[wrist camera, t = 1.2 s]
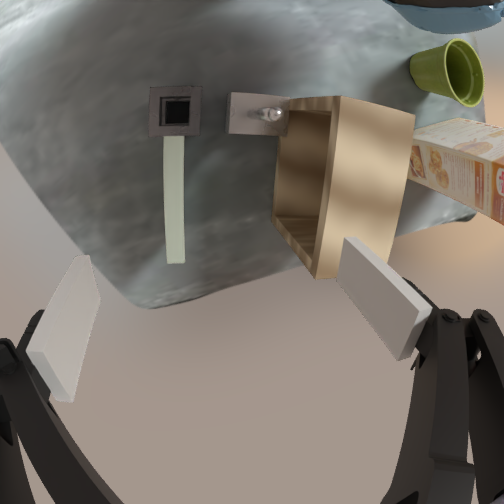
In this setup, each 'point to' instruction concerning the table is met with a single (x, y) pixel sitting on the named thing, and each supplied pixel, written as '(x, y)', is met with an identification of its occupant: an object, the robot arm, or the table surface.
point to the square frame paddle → (174, 158)
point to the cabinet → (331, 171)
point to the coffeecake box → (462, 163)
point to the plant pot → (450, 72)
